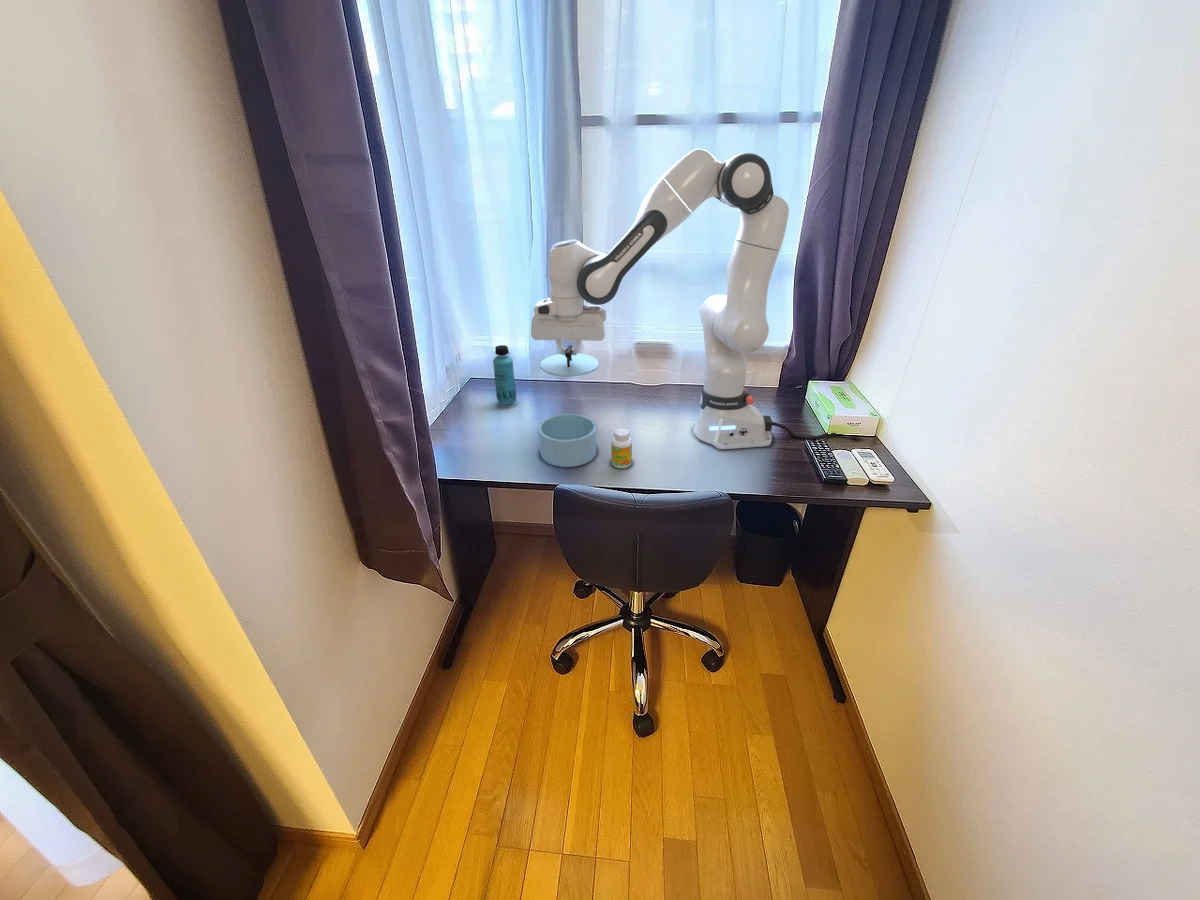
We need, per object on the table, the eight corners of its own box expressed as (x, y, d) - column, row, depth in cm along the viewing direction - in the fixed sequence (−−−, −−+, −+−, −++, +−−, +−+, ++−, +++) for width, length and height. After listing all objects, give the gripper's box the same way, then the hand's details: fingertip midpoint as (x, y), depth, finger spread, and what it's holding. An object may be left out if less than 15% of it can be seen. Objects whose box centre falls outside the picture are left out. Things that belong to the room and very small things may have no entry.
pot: (598, 438, 147) (597, 414, 143) (594, 467, 134) (593, 442, 130) (545, 437, 148) (543, 413, 144) (536, 466, 135) (533, 440, 131)
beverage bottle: (499, 399, 170) (492, 342, 160) (519, 400, 170) (513, 343, 160) (495, 408, 165) (488, 350, 154) (515, 408, 165) (509, 350, 154)
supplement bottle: (610, 467, 134) (610, 436, 129) (612, 457, 139) (613, 426, 134) (630, 469, 133) (631, 437, 128) (632, 458, 138) (633, 427, 133)
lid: (600, 357, 151) (600, 339, 148) (596, 379, 136) (596, 360, 134) (545, 356, 151) (544, 338, 149) (536, 378, 137) (534, 359, 134)
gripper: (606, 302, 137) (606, 351, 144) (532, 301, 138) (535, 350, 145) (605, 309, 132) (605, 359, 139) (527, 308, 133) (531, 358, 140)
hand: (569, 354), depth 142 cm, fingers closed on lid
